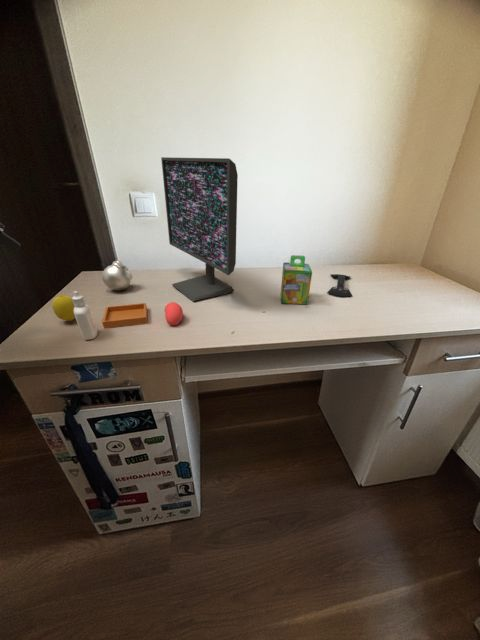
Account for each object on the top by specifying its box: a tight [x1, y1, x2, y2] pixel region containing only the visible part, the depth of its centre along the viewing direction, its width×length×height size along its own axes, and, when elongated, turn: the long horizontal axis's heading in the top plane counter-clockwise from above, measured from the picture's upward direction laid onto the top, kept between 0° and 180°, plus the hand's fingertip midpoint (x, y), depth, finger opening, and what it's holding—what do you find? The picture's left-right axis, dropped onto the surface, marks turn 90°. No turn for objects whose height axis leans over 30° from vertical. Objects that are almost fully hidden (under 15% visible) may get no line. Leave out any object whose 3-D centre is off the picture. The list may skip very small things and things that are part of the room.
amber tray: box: [101, 302, 148, 329], centre depth 82 cm, size 11×10×2 cm
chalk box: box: [280, 254, 313, 306], centre depth 95 cm, size 9×9×15 cm
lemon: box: [51, 294, 76, 322], centre depth 78 cm, size 6×6×8 cm
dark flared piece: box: [327, 273, 353, 298], centre depth 111 cm, size 9×25×3 cm, turn 166°
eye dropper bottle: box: [71, 290, 98, 341], centre depth 71 cm, size 4×6×12 cm
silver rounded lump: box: [101, 259, 133, 292], centre depth 98 cm, size 9×10×10 cm
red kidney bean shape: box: [164, 301, 184, 326], centre depth 82 cm, size 5×9×6 cm
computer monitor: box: [160, 156, 239, 302], centre depth 92 cm, size 44×16×40 cm, turn 37°
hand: (7, 253), depth 59 cm, fingers open, 8 cm apart
